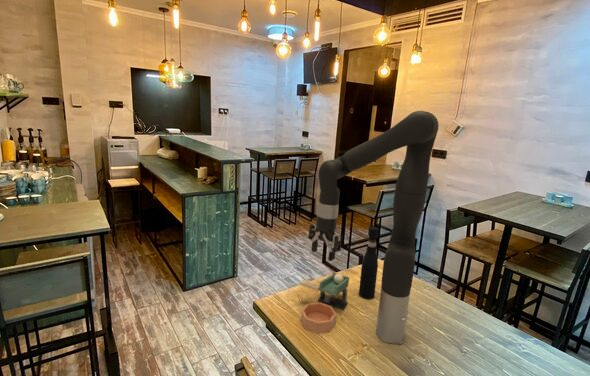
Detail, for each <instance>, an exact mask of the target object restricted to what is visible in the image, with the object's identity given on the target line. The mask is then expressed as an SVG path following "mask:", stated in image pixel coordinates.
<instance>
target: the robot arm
mask: <svg viewBox="0 0 590 376" xmlns="http://www.w3.org/2000/svg"><path fill="white" fill-rule="evenodd" d="M439 127H440V126H439V121H438V119H437V117H436V116H435V115H434V114H433V113H431V112H429V111H425V110H417V111H413V112H411V113H409V114H408V115H407V116H406V117H404V118H403V119H402V120H400V121H399V122H398V123H396V124H395V125H394V126H392V127H391V128H388V130H386V131H383V132H382V133H381V134H379V135H377V136H375V137H373V138H370V139H369V140H367V141H365V142H362V143H361V144H358V145H357V146H355V147H353V148H350V149H349V150H347V151H345V152H344V154H343V155H340V156H339V157H337V158H334V159H329V160H325V161H323V162H322V164H321V165H320V167H319V169H318V181H319V184H318V185H319V190H320V192H319V197H318V199H319V200H318V204H317V210H316V216H315V217H316V218H315V223H313V224H312V223H311V224H310V226H309V231H308V236H307V238H308V240H310V241H311V252H312V253H316V252H317V251H318V247H319V246H318V244H319V242H318V241H322V242H323V243H324V244H325V245H326V247H328V249H329V250H328V257H327V258H328V261H329V262H333V261H334V260H335V257H336V253H337V252H340V251H341V250H342V249H341V248H342V238H343V236H342V235H341V234H336V232H335V231H336V229H337V223H338V218H339V217H338V216H339V204H340V203H339V202H340V198H341V197H340V194H341V191H340V188H339V187H338V180H339V179H341V178H343V177H345V176H347V175H348V174H350V173H352V172H354V171H356V170H359V169H361V168H364V167H366V166H368V165H370V164H372V163H373V162H376V161H377V160H379V159H380V158H383V157H384V156H386V155H387V154H389V153H392V152H395V150H399V149H401V148H404V147H406V152H405V155H404V156H405V157H404V160H403V163H402V165H401V168H400V171H399V173H398V177H397V179H396V183H395V186H394V187H395V189H394V195H393V202H392V203H393V204H392V217H393V218H392V221H393V222H392V223H393V224H392V230H391V234H390V239H389V241H388V245H387V248H386V251H385V254H384V257H383V264H382V265H383V266H382V272H381V273H382V275H381V285H380V287H381V288H380V296H379V304H378V311H377V312H378V313H377V318H376V320H377V321H376V326H375V327H376V329H375V333H376V336H377V338H379V339H380V340H381V341H382V342H385V343H386V344H387V343H388V344H396V345H397V344H399V345H403V342H404V338H405V336H406V330H407V323H408V316H409V304H410V303H409V302H410V296H411V290H412V285H413V279H414V272H415V264H416V263H415V261H416V260H415V259H416V254H415V253H416V251H415V250H416V234H417V228H418V225H419V222H420V220H421V218H422V215H423V211H424V207H425V202H426V199H427V198H426V197H427V192H428V183H429V175H430V162H431V156H432V152H433V148H434V144H435V141H436V138H437V135H438V132H439Z"/></svg>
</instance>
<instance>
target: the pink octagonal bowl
mask: <svg viewBox="0 0 590 376" xmlns="http://www.w3.org/2000/svg"><path fill="white" fill-rule="evenodd" d="M300 322H301V323H302V326H303V327H304V329H305V330H307V331H310V332H313V333H315V334H318V335H319V334H323V333H329V332H331V331H332V329H334V326H336V322H337V313H336V311H335V310H334V307H332V306H329V305H326V304H323V303H320V302H318V301H317V302H312V303H306V305H305V306H303V308H302V309H301V313H300Z"/></svg>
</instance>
